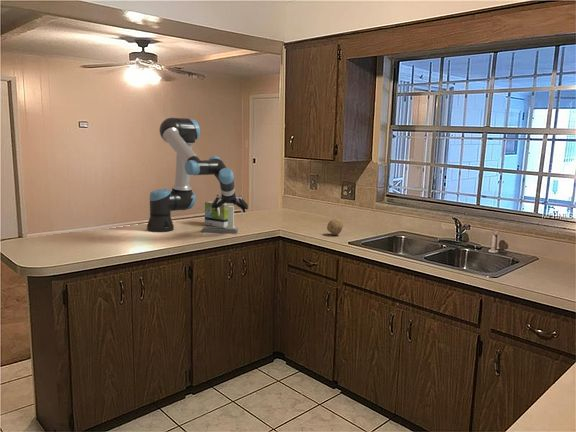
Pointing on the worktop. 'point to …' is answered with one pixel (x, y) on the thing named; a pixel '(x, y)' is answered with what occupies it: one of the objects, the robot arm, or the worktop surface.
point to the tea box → (216, 215)
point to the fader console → (219, 230)
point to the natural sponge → (335, 226)
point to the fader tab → (230, 218)
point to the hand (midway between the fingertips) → (230, 214)
